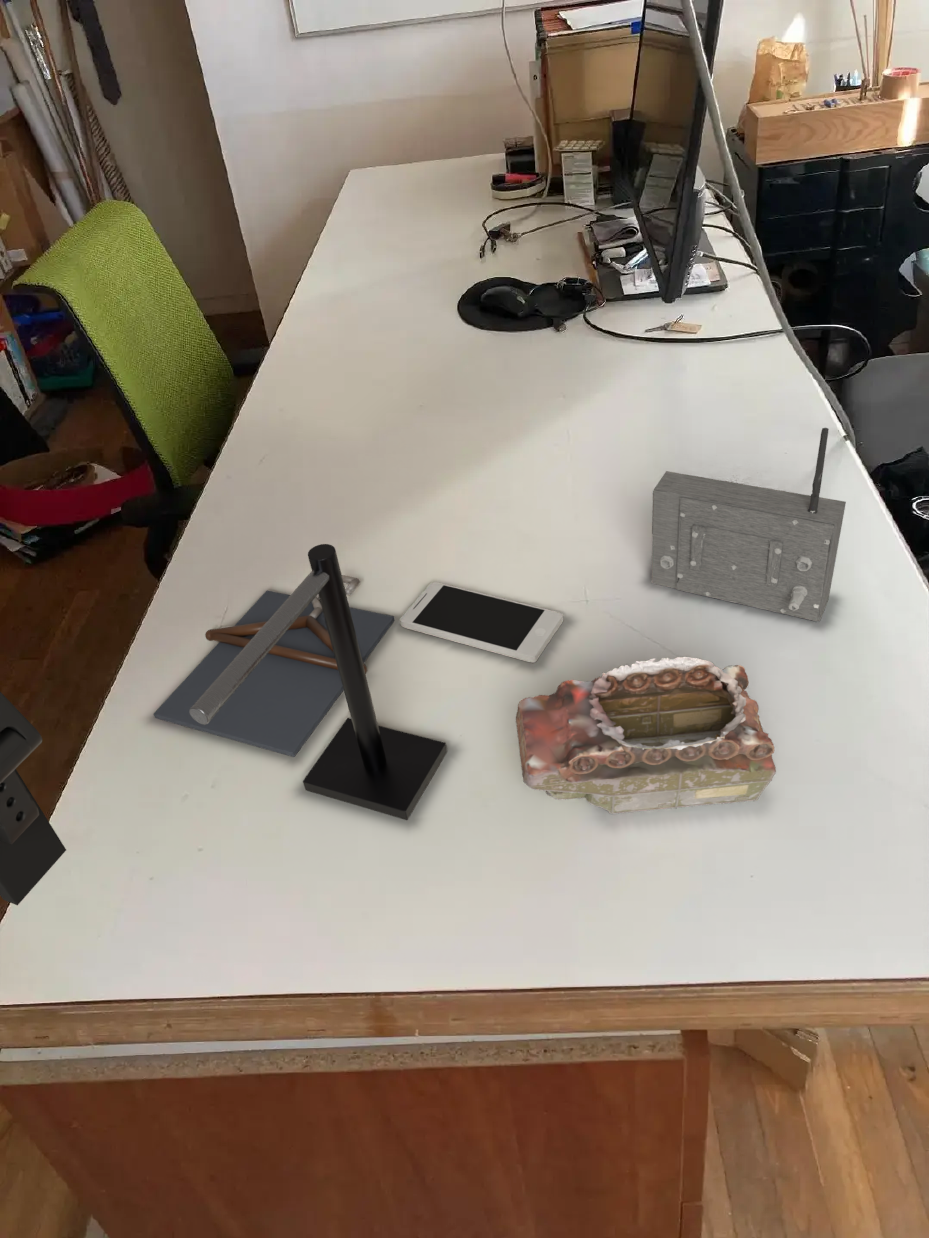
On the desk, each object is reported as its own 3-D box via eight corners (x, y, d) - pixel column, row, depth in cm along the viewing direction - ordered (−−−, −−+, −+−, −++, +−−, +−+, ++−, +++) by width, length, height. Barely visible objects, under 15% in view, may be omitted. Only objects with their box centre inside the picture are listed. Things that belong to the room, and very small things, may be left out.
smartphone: (534, 664, 89) (534, 656, 89) (399, 626, 96) (397, 619, 95) (564, 619, 94) (564, 612, 93) (433, 587, 101) (432, 580, 100)
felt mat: (155, 718, 90) (152, 713, 89) (268, 594, 103) (266, 590, 103) (294, 757, 84) (292, 752, 83) (395, 620, 97) (394, 616, 97)
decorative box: (783, 864, 70) (799, 779, 63) (517, 865, 72) (507, 783, 66) (755, 735, 80) (765, 651, 73) (521, 740, 82) (513, 659, 76)
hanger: (201, 633, 96) (272, 558, 105) (204, 642, 97) (274, 567, 106) (362, 670, 89) (423, 587, 98) (364, 679, 90) (425, 596, 99)
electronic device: (829, 598, 92) (861, 416, 80) (812, 639, 88) (844, 454, 75) (660, 562, 100) (665, 390, 87) (637, 598, 95) (639, 424, 83)
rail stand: (350, 726, 86) (292, 512, 71) (447, 751, 82) (408, 530, 67) (228, 899, 73) (126, 680, 58) (338, 938, 69) (259, 716, 54)
